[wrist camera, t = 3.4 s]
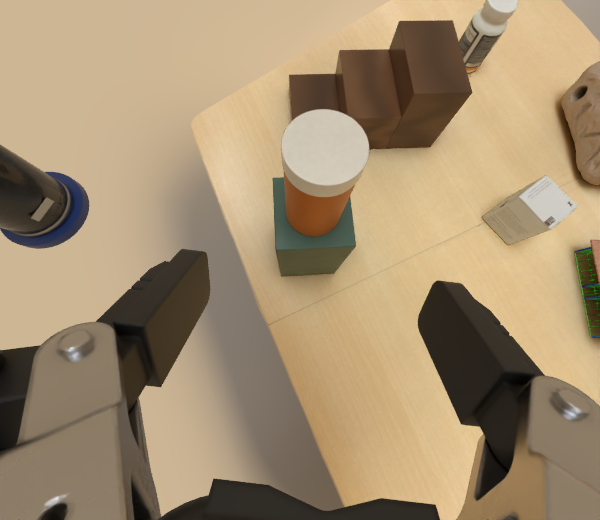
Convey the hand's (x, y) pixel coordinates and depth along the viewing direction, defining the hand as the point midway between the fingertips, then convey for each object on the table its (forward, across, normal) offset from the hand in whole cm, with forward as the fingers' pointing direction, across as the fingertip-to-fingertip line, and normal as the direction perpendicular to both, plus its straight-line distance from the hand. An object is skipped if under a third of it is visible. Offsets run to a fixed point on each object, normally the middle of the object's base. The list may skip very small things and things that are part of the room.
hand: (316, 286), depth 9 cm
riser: (+46, -7, -4) cm, 47 cm away
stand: (+28, 0, +14) cm, 31 cm away
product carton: (+34, -32, +8) cm, 48 cm away
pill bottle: (+57, -26, -15) cm, 65 cm away
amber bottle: (+18, 0, +4) cm, 18 cm away
